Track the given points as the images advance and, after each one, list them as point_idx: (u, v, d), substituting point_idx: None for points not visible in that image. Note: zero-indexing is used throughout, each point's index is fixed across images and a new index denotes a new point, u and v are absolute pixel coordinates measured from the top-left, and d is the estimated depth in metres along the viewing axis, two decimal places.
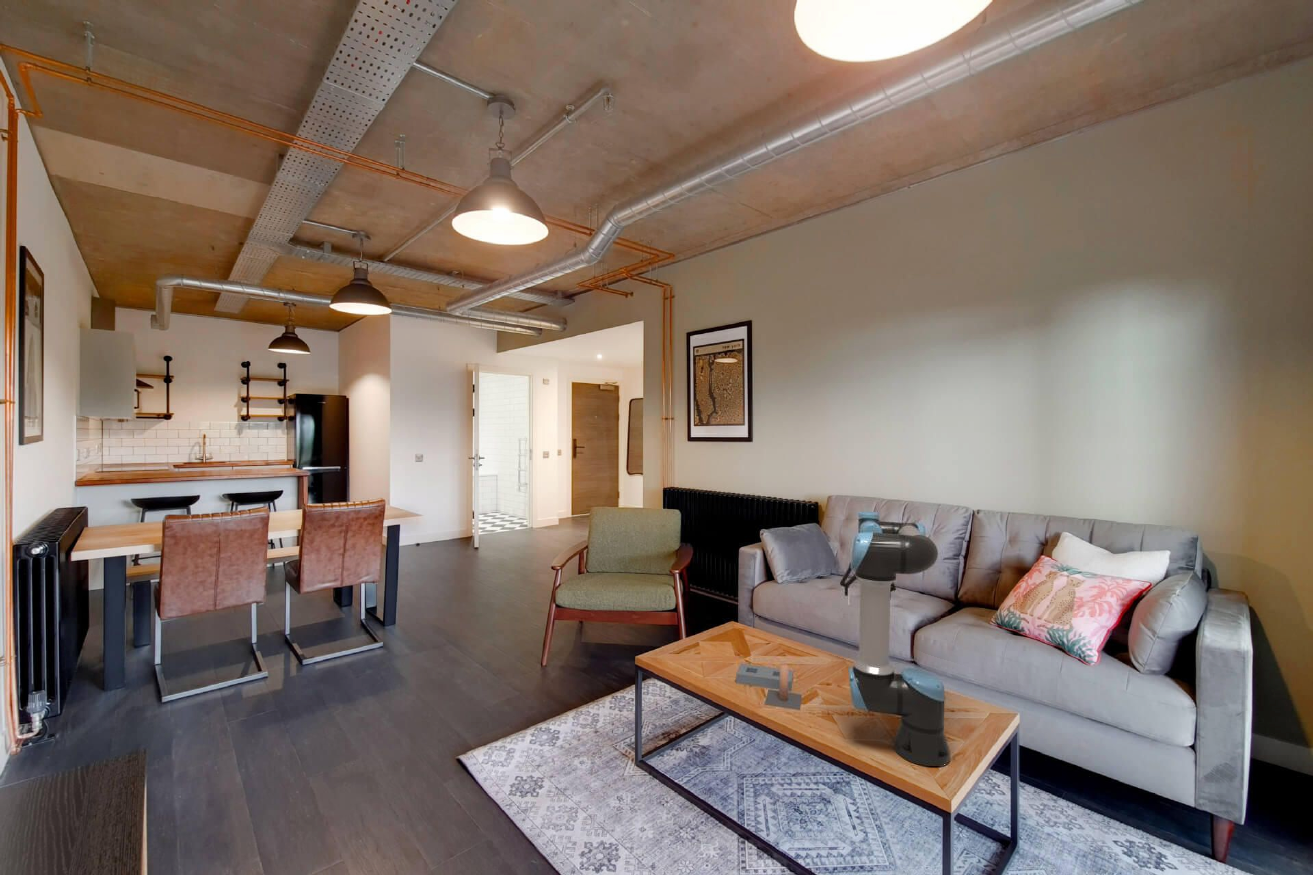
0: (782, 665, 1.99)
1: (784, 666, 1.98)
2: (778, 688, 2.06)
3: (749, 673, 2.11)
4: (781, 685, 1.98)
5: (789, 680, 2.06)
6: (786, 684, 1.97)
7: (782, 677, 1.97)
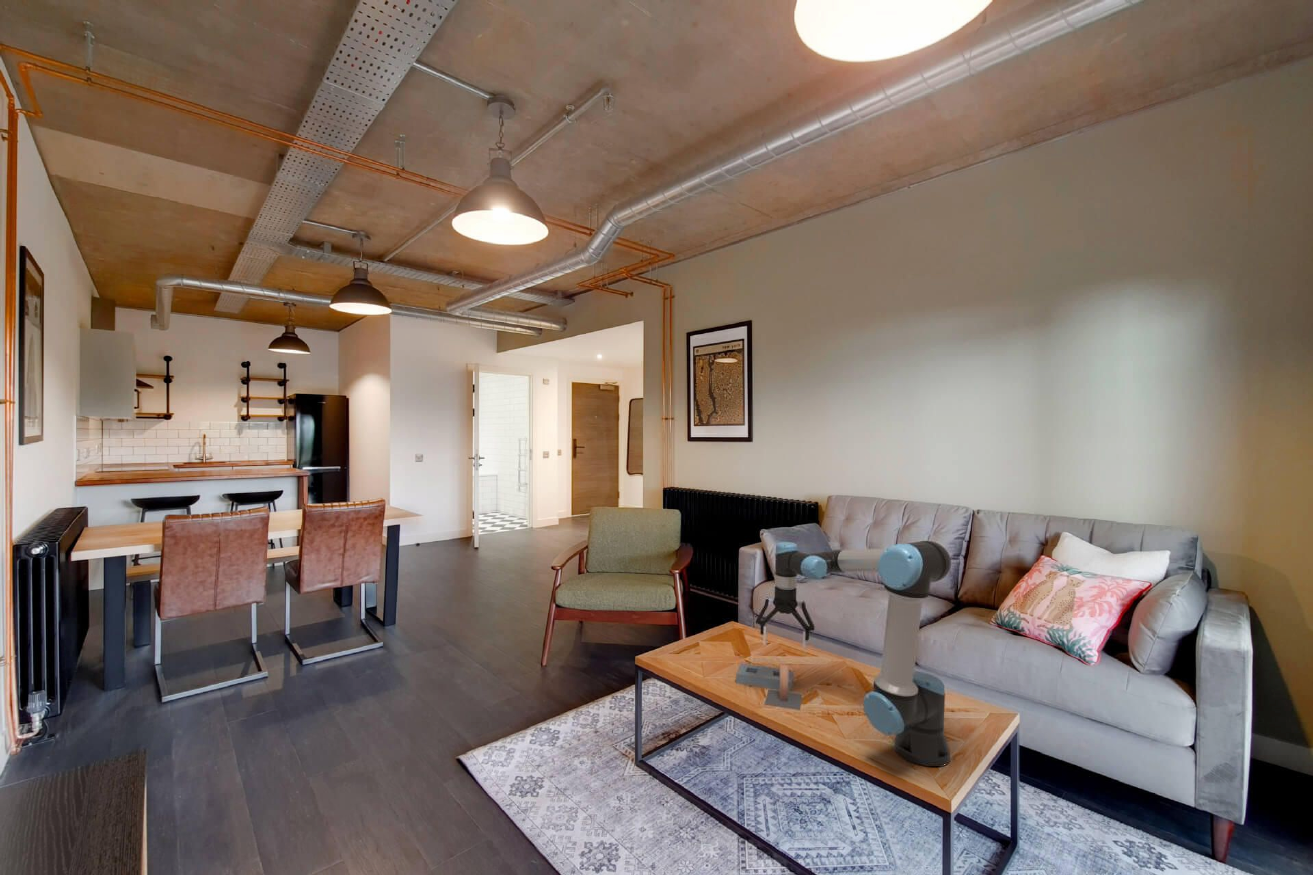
0: (782, 665, 1.99)
1: (784, 666, 1.98)
2: (778, 688, 2.06)
3: (749, 673, 2.11)
4: (781, 685, 1.98)
5: (789, 680, 2.06)
6: (786, 684, 1.97)
7: (782, 677, 1.97)
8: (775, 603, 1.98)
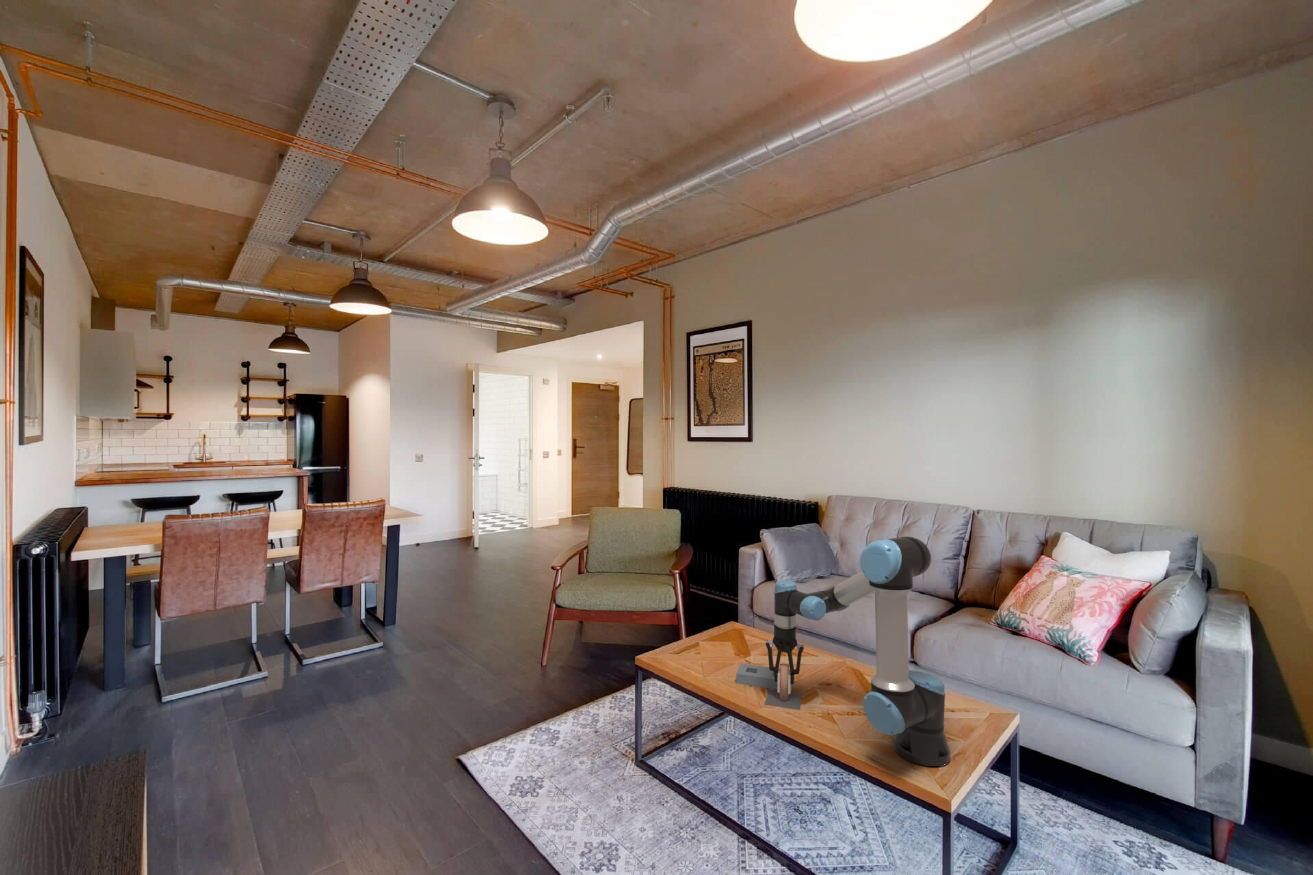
0: (782, 665, 1.99)
1: (784, 666, 1.98)
2: None
3: (749, 673, 2.11)
4: (781, 685, 1.98)
5: None
6: (786, 684, 1.97)
7: (782, 676, 1.97)
8: (775, 642, 1.98)
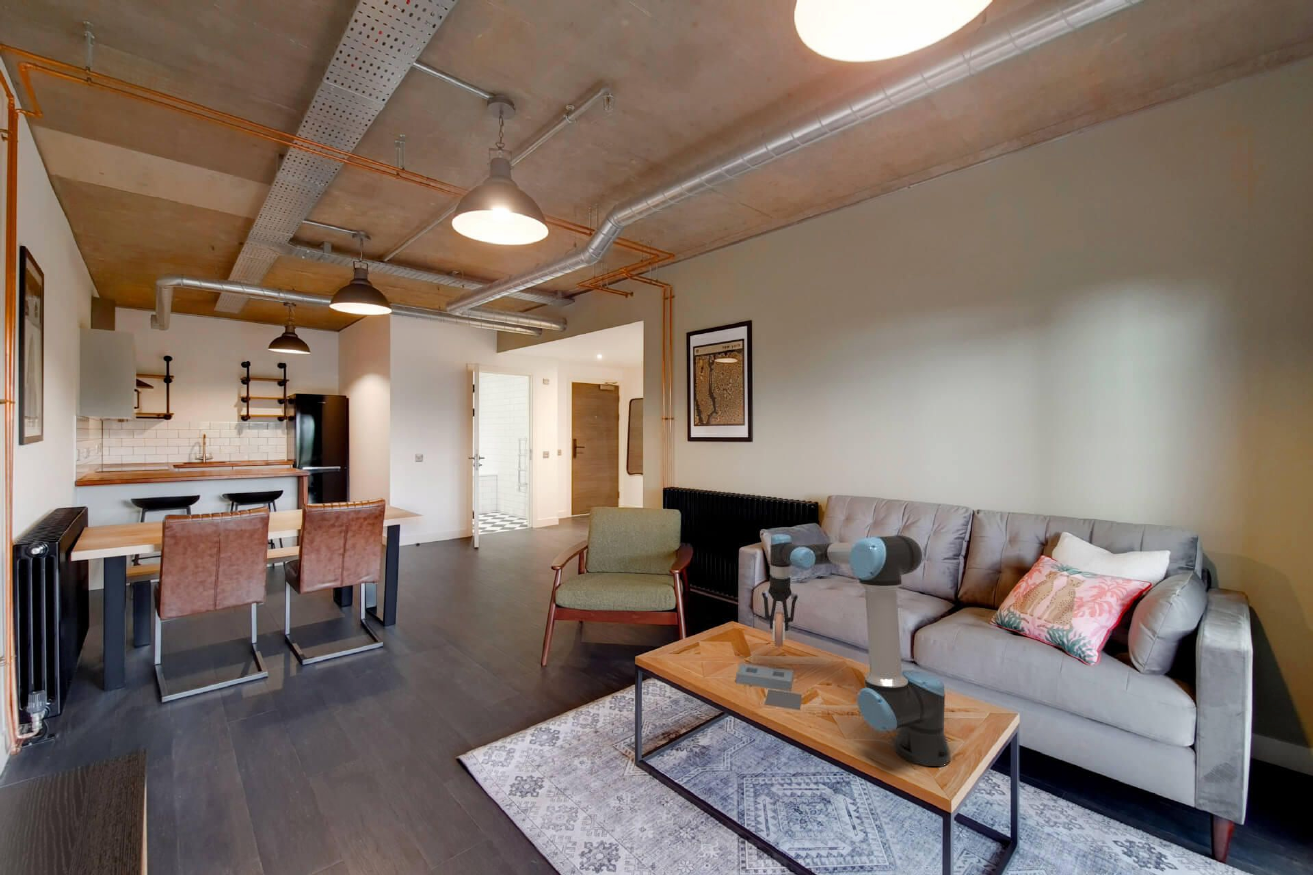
0: (777, 613, 2.11)
1: (779, 614, 2.10)
2: (778, 688, 2.06)
3: (749, 673, 2.11)
4: (776, 632, 2.10)
5: (789, 680, 2.06)
6: (781, 631, 2.10)
7: (777, 624, 2.10)
8: (770, 592, 2.11)
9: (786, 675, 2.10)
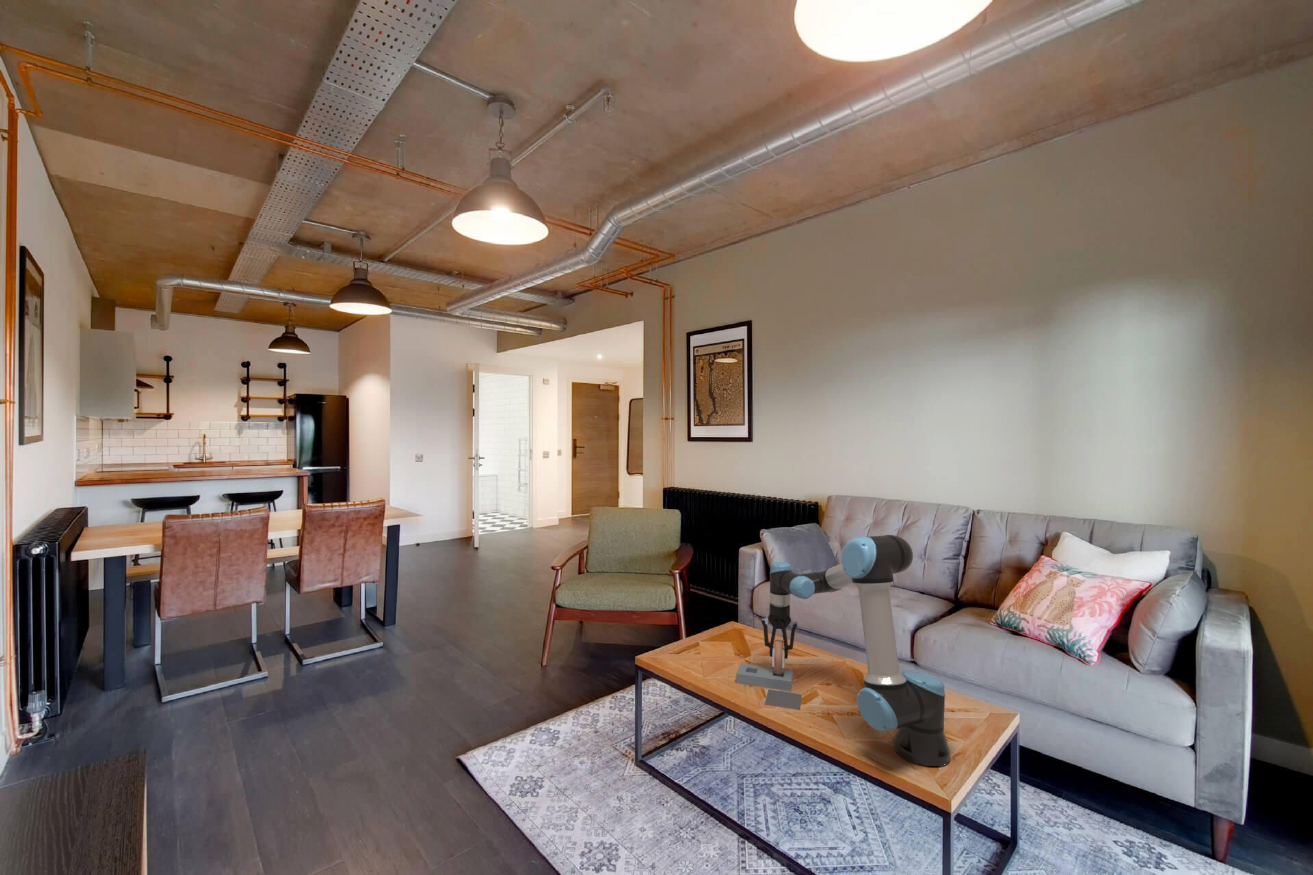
0: (777, 641, 2.11)
1: (779, 641, 2.10)
2: (778, 688, 2.06)
3: (749, 673, 2.11)
4: (776, 659, 2.10)
5: (789, 680, 2.06)
6: (781, 658, 2.10)
7: (777, 652, 2.10)
8: (770, 619, 2.11)
9: (786, 675, 2.10)
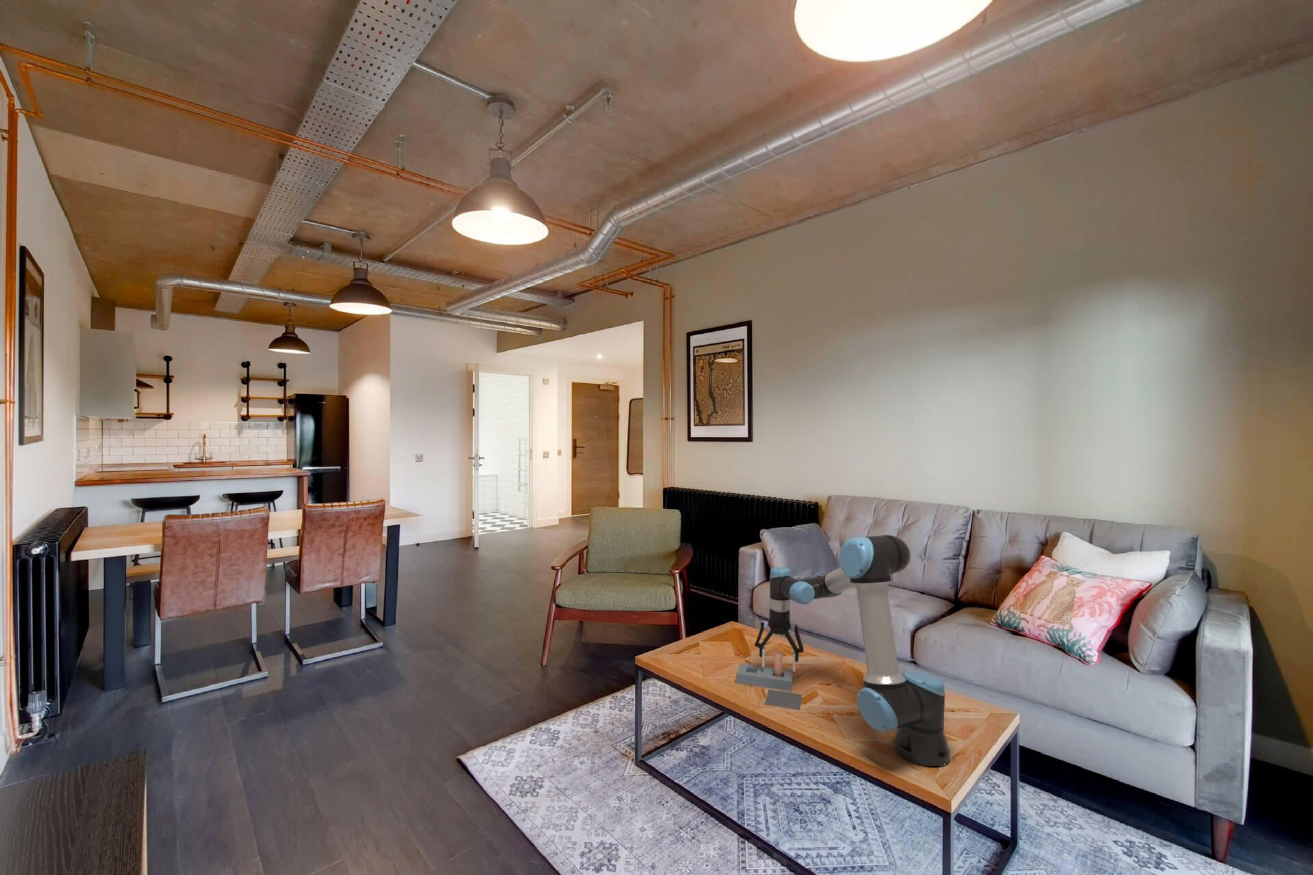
0: (776, 652, 2.11)
1: (778, 653, 2.10)
2: (778, 688, 2.06)
3: (749, 673, 2.11)
4: (775, 671, 2.10)
5: (789, 680, 2.06)
6: (780, 670, 2.10)
7: (776, 663, 2.10)
8: (770, 625, 2.11)
9: (786, 675, 2.10)
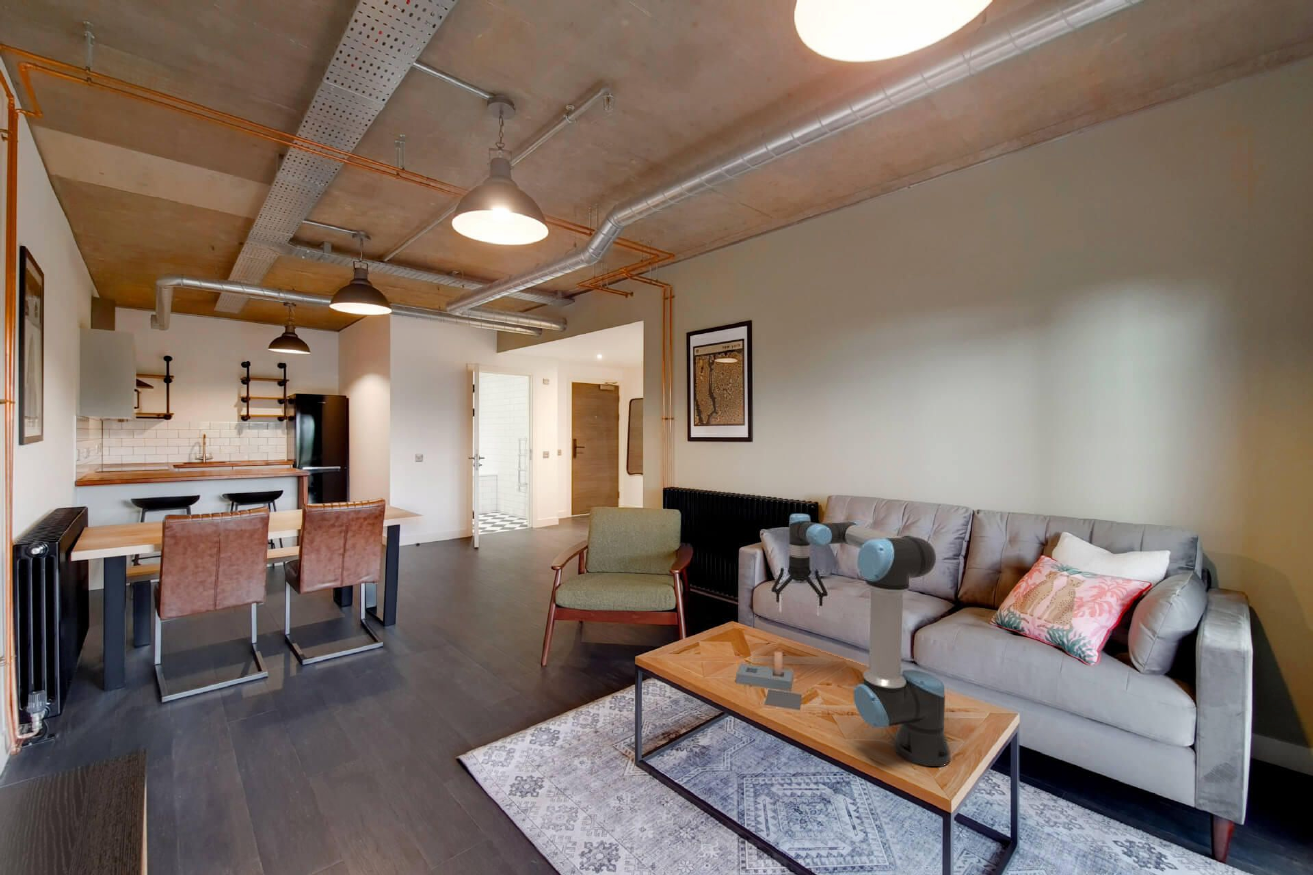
0: (776, 652, 2.11)
1: (778, 653, 2.10)
2: (778, 688, 2.06)
3: (749, 673, 2.11)
4: (775, 671, 2.10)
5: (789, 680, 2.06)
6: (780, 670, 2.10)
7: (776, 663, 2.10)
8: (790, 571, 2.10)
9: (786, 675, 2.10)
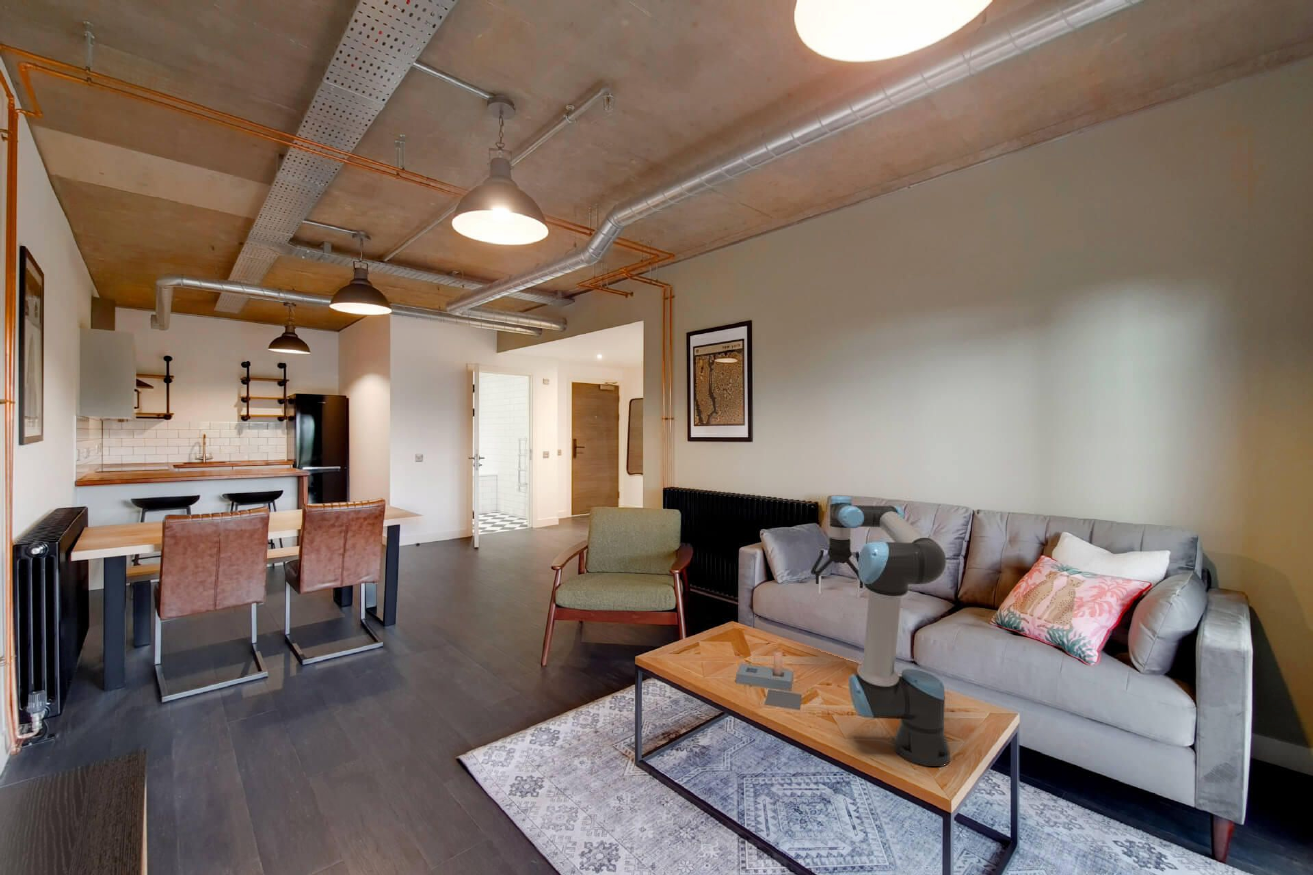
0: (776, 652, 2.11)
1: (778, 653, 2.10)
2: (778, 688, 2.06)
3: (749, 673, 2.11)
4: (775, 671, 2.10)
5: (789, 680, 2.06)
6: (780, 670, 2.10)
7: (776, 663, 2.10)
8: (830, 553, 2.09)
9: (786, 675, 2.10)
